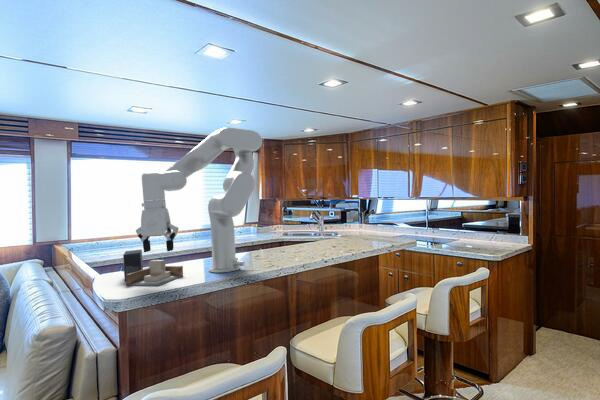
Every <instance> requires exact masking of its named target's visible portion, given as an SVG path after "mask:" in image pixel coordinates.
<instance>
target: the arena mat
mask: <svg viewBox="0 0 600 400" xmlns="http://www.w3.org/2000/svg"><path fill="white" fill-rule="evenodd" d="M182 277H183V276H182V275H181V276H171V277H169V278H166V279H163V280H161V281H158V282H144V280H141V281H138V282H135V283H132V284H130V285H129V284H126V283H125V284H126V286H127V285H129V287H161V286H162V285H165V284H168V283H170V282H172V281H175V280H177V279H179V278H182ZM127 287H128V286H127Z"/></svg>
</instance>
